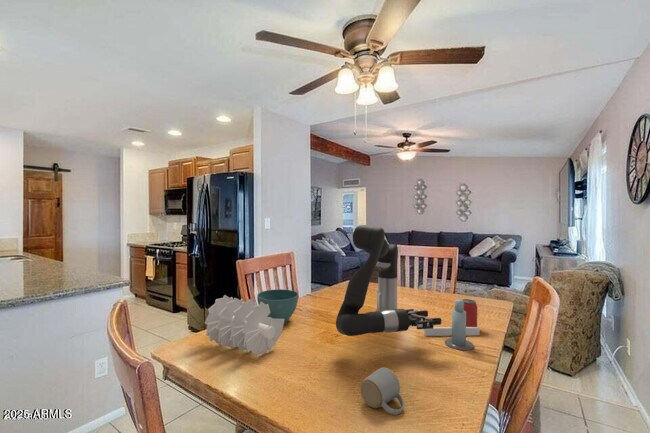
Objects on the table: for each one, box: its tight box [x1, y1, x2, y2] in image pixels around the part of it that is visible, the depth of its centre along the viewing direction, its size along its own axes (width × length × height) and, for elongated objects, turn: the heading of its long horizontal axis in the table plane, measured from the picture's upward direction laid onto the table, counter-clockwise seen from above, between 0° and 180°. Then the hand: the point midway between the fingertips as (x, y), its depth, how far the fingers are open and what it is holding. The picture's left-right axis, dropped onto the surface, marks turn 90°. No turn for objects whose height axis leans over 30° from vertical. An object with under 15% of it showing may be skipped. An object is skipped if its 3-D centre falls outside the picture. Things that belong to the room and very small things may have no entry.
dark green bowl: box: [256, 288, 299, 324], centre depth 145 cm, size 18×18×12 cm
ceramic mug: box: [359, 367, 405, 416], centre depth 83 cm, size 11×8×8 cm
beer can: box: [462, 298, 478, 327], centre depth 135 cm, size 7×7×12 cm
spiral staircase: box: [204, 294, 285, 358], centre depth 117 cm, size 18×18×25 cm
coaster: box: [444, 337, 475, 351], centre depth 120 cm, size 10×10×1 cm
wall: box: [423, 326, 480, 337], centre depth 129 cm, size 22×1×3 cm, turn 92°
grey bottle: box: [451, 298, 467, 346], centre depth 120 cm, size 5×5×16 cm
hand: (433, 317), depth 117 cm, fingers open, 8 cm apart
